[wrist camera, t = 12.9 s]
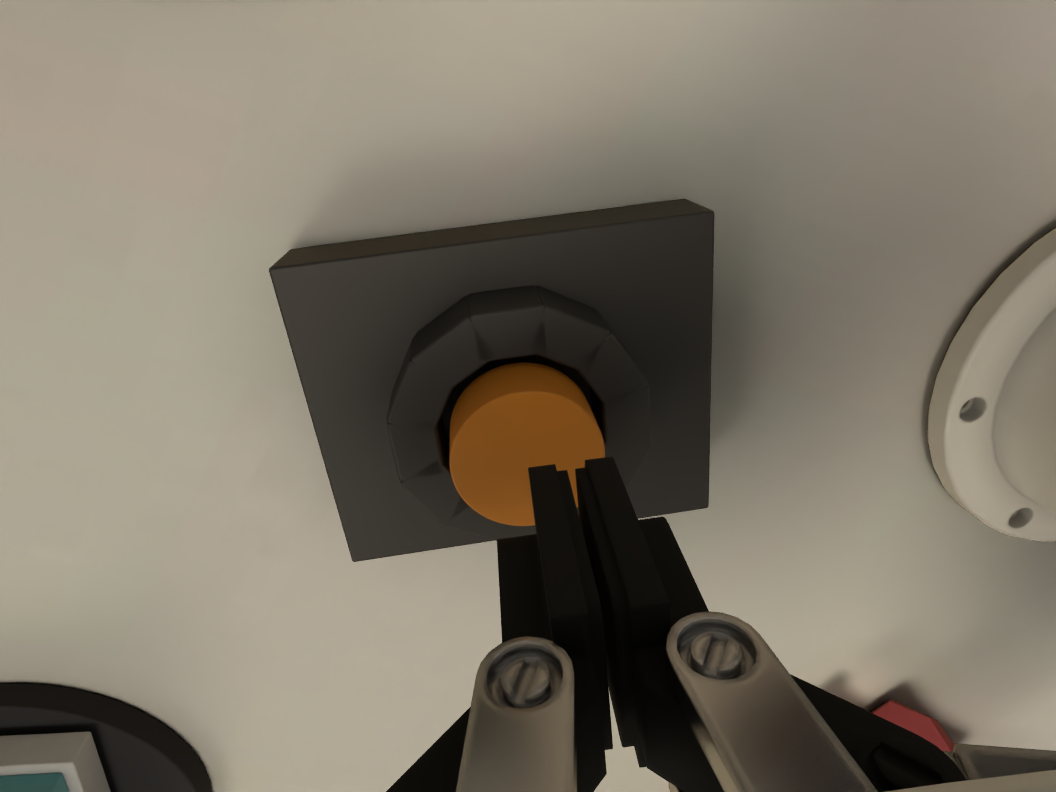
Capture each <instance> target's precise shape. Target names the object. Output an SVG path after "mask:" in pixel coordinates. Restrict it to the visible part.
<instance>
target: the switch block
mask: <svg viewBox="0 0 1056 792" xmlns="http://www.w3.org/2000/svg"><path fill="white" fill-rule="evenodd" d="M713 255H714V211H712V210H710V209H707V208H705V207H703V206H700V205H698V204H696V203H693V202H691V201H689V200H686V199H680V200H672V201H665V202H657V203H649V204H641V205H633V206H626V207H618V208H610V209H602V210H594V211H587V212H579V213H571V214H563V215H555V216H548V217H540V218H532V219H524V220H516V221H509V222H501V223H493V224H485V225H477V226H470V227H462V228H454V229H446V230H439V231H431V232H423V233H415V234H407V235H400V236H392V237H384V238H376V239H368V240H361V241H353V242H345V243H337V244H329V245H322V246H314V247H306V248H298V249H291V250H289V251H288V252H287V253H286V254H285V255H284V256H283V257H282V258H281V259H279V260H278V261H277V262H276V263H275V264H274V265H273V266H272V267H271V268H269V272H270V276H271V279H272V283H273V286H274V290H275V293H276V297H277V300H278V304H279V307H280V311H281V314H282V317H283V321H284V324H285V328H286V331H287V335H288V338H289V342H290V345H291V349H292V352H293V356H294V359H295V363H296V366H297V370H298V373H299V377H300V380H301V384H302V387H303V391H304V394H305V398H306V401H307V404H308V408H309V411H310V415H311V418H312V422H313V425H314V429H315V432H316V436H317V439H318V443H319V446H320V450H321V453H322V457H323V460H324V464H325V467H326V471H327V474H328V478H329V481H330V485H331V488H332V491H333V495H334V498H335V502H336V505H337V509H338V512H339V516H340V519H341V523H342V526H343V530H344V533H345V537H346V540H347V544H348V547H349V551H350V554H351V558H352V561H353V562H356V561H363V560H369V559H376V558H382V557H389V556H395V555H402V554H409V553H415V552H422V551H428V550H435V549H441V548H448V547H454V546H461V545H467V544H474V543H480V542H487V541H493V540H496V541H497V540H498V539H503V538H510V537H517V536H525V535H532V534H536V528H535V525H532V526H514V525H506V524H502V523H498V522H495V521H493V520H490V519H488V518H486V517H484V516H482V515H480V514H479V513H477V512H476V511H474V510H473V509H472V508H471V507H470V506H469V505H468V504H467V503H466V502H465V501H464V500H463V499H462V498H461V496H460V495H459V493H458V491H457V490H456V488H455V485H454V483H453V481H452V477H451V473H450V465H449V459H450V421H451V416H452V412H453V409H454V406H455V404H456V402H457V400H458V398H459V397H460V395H461V394H462V392H463V391H464V390H465V389H466V388H467V386H468V385H469V384H470V383H471V382H473V381H474V380H475V379H476V378H477V377H479V376H481V375H482V374H484V373H485V372H487V371H489V370H491V369H494V368H496V367H499V366H502V365H506V364H511V363H521V362H526V363H537V364H542V365H546V366H549V367H552V368H554V369H556V370H558V371H560V372H562V373H563V374H565V375H567V376H568V377H569V378H570V379H572V380H573V381H574V382H575V383H576V384H577V385H578V387H579V388H580V389H581V391H582V392H583V394H584V395H585V397H586V400H587V402H588V404H589V406H590V408H591V411H592V413H593V415H594V418H595V420H596V422H597V424H598V427H599V429H600V431H601V434H602V437H603V440H604V446H605V457H613V458H614V460H615V462H616V465H617V468H618V470H619V473H620V475H621V478H622V480H623V483H624V485H625V488H626V491H627V493H628V496H629V498H630V501H631V503H632V506H633V508H634V511H635V514H636V516H637V518H644V517H650V516H657V515H663V514H670V513H676V512H683V511H690V510H696V509H703V508H707V507H708V503H709V453H710V404H711V354H712V305H713ZM577 511H578V515H579V510H578V507H577Z"/></svg>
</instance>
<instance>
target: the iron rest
mask: <svg viewBox="0 0 1056 792" xmlns="http://www.w3.org/2000/svg"><path fill="white" fill-rule="evenodd" d="M69 732H91V734H92V737H93V740H94V743H95V746H96V749H97V752H98V755H99V758H100V761H101V764H102V767H103V770H104V773H105V776H106V779H107V782H108V785H109V788H110V791H111V792H211V786H210V781H209V778H208V776H207V773H206V770H205V768H204V766H203V765H202V763H201V761H200V760H199V758H198V757H197V755H196V754H195V753H194V751H193V750H192V749H191V748H190V747H189V746H188V744H187V743H186V742H185V741H184V740H182V739H181V738H180V737H179V736H178V735H177V734H176V733H174V732H173V731H172V730H171V729H169V728H168V727H166V726H165V725H163V724H162V723H161V722H159V721H158V720H156V719H154V718H152V717H151V716H149V715H147V714H145V713H143V712H141V711H139V710H137V709H135V708H133V707H130V706H128V705H126V704H123V703H121V702H119V701H116V700H113V699H110V698H106V697H103V696H100V695H97V694H93V693H89V692H85V691H80V690H76V689H71V688H64V687H58V686H51V685H38V684H0V736H9V735H29V734H49V733H69Z"/></svg>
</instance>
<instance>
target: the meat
mask: <svg viewBox="0 0 1056 792" xmlns="http://www.w3.org/2000/svg"><path fill="white" fill-rule="evenodd" d="M871 713H873V714H875V715H877V716H879V717H881V718H884V719H886V720H888V721H890V722H892V723H894V724H896V725H898V726H900V727H903V728H905V729H907V730H909V731H911V732H913V733H915V734H917V735H919V736H921V737H922V738H924V739H926V740H927V741H929V742H931V743H933V744H934V745H936V746H937V747H938V748H939V749H941V750H942V751H951V752H953V750H954V746H955V744H954V743H953V742H952V741H951V740H950V738H949V737H948V736H947V734H946V733H945V731H944V730H943V729H942V727H941V726H940V724H939V723H938V721H937V720H935V719H933V718H930V717H928V716H926V715H924V714H922V713H920V712H918V711H915V710H913V709H911V708H909V707H907V706H905V705H902V704H900V703H898V702H896V701H894V700H892V699H891V700H889V701H887V702H886V703H884V704H883V705H881V706H880V707H878V708H876V709H875V710H873V711H872V712H871Z"/></svg>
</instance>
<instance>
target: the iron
mask: <svg viewBox="0 0 1056 792" xmlns="http://www.w3.org/2000/svg"><path fill="white" fill-rule="evenodd" d="M0 792H111V791H110V788H109V785H108V782H107V779H106V776H105V773H104V770H103V767H102V764H101V761H100V758H99V755H98V752H97V749H96V746H95V743H94V740H93V737H92V734H91V732H69V733H49V734H29V735H9V736H0Z"/></svg>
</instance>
